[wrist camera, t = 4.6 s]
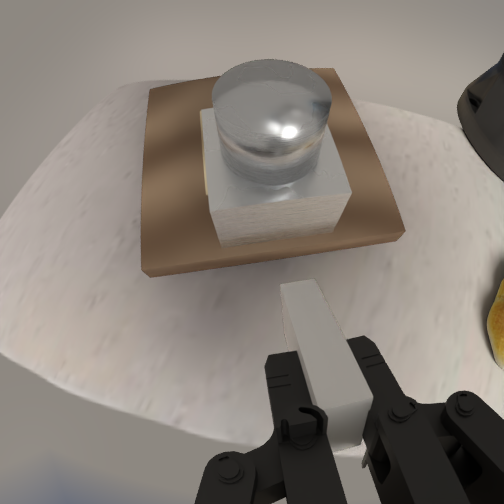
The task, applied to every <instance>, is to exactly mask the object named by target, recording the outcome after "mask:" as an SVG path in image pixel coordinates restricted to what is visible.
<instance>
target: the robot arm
mask: <svg viewBox="0 0 504 504" xmlns="http://www.w3.org/2000/svg"><path fill="white" fill-rule="evenodd" d="M457 111H458V117H459V120H460V123H461V125H462V127H463V129H464V132H465V133H466V135H467V137H468V139H469V140H470V142H471V143H472V145H473V146H474V148H475V149H476V151H477V152H478V153H479V155H480V156H481V157H482V159H483V160H484V161H485V162H486V163H487V164H488V166H489V167H490V168H491V169H492V170H493V171H494V172H495V173H496V174H497V175H498V176H499V177H500V178H501V179H502V180H503V181H504V53H503V55H502V57H501V59H500V61H499V62H498V63H497V64H495V65H494V66H493V67H491V68H490V69H489V70H488V71H486V72H485V73H484V74H482V75H481V76H480V77H478V78H477V79H476V80H474V81H473V82H472V83H470V84H469V85H468V86H467V87H466V89H465V90H464V92H463V94H462V95H461V97H460V99H459V101H458V105H457ZM280 292H281V303H282V314H283V326H284V335H285V339H286V342H287V346H288V350H289V352H285V353H279V354H273V355H269V356H268V358H267V361H266V364H265V373H266V380H267V387H268V393H269V399H270V405H271V411H272V417H273V423H274V431H273V434H272V436H271V437H270V439H269V440H268V441H267V442H266V443H265V444H264V445H262V446H260V447H259V448H257V449H254V450H252V451H250V452H247V453H245V454H243V453H239V452H235V451H232V452H223V453H221V454H218V455H216V456H214V457H213V458H212V459H211V460H210V461H209V462H208V464H207V466H206V467H205V470H204V473H203V477H202V480H201V483H200V487H199V490H198V493H197V497H196V500H195V504H272V503H274V502H276V501H278V500H280V499H283V498H285V497H286V501H287V504H347V501H346V498H345V494H344V491H343V487H342V484H341V480H340V477H339V473H338V470H337V467H336V463H335V460H334V457H333V453H332V452H335V451H339V450H343V449H347V448H351V447H355V446H358V445H361V441H362V438H363V439H364V442H365V444H366V447H367V449H366V452H365V455H364V458H363V460H362V468H365V467H366V465H367V464H368V467H369V470H370V472H371V475H372V478H373V481H374V484H375V487H376V490H377V493H378V495H379V498H380V501H381V504H504V420H503V419H502V418H501V417H500V416H499V415H498V414H497V413H496V412H495V411H494V410H493V409H492V408H491V407H489V406H488V405H487V404H486V403H485V402H484V401H483V400H482V399H481V398H480V397H479V396H477V395H476V394H474V393H472V392H469V391H458V392H456V393H454V394H452V395H451V396H450V397H449V398H448V399H447V401H446V402H445V403H434V404H421V403H417V402H416V400H414V399H412V398H410V397H408V396H405V394H404V393H403V392H402V390H401V388H400V386H399V384H398V383H397V381H396V379H395V377H394V376H393V374H392V372H391V370H390V369H389V367H388V365H387V363H385V360H384V358H383V356H382V355H381V353H380V351H379V349H378V348H377V346H376V344H375V343H374V342H373V341H371V340H370V339H368V338H367V337H366V336H360V337H356V338H351V339H347V340H346V339H345V337H344V335H343V333H342V331H341V329H340V327H339V325H338V323H337V321H336V319H335V317H334V315H333V313H332V311H331V309H330V307H329V305H328V303H327V302H326V300H325V298H324V296H323V294H322V292H321V290H320V288H319V286H318V284H317V282H316V280H315V278H314V279H308V280H302V281H296V282H290V283H283V284H280Z"/></svg>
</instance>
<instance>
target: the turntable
mask: <svg viewBox="0 0 504 504" xmlns="http://www.w3.org/2000/svg"><path fill="white" fill-rule="evenodd" d="M310 70H312V71H314V72H315V73H316V74H318V75H319V76H320V77H321V78H322V79H323V80H324V81H325V82H326V84H327V85H328V87H329V89H330V92H331V96H332V104H331V108H330V112H329V117H328V121H327V125H328V127H329V130H330V132H331V135H332V138H333V140H334V143H335V145H336V148H337V151H338V154H339V156H340V159H341V162H342V165H343V168H344V170H345V173H346V176H347V179H348V182H349V185H350V188H351V191H352V194H351V196H350V198H349V200H348V202H347V204H346V206H345V208H344V210H343V212H342V214H341V216H340V218H339V220H338V222H337V224H336V226H335V228H334V230H333V232H331V233H324V234H317V235H310V236H303V237H296V238H289V239H282V240H275V241H268V242H261V243H254V244H247V245H241V246H234V247H227V248H222V247H221V244H220V241H219V238H218V235H217V232H216V229H215V226H214V223H213V220H212V217H211V214H210V209H209V199H208V188H207V177H206V165H205V153H204V140H203V127H202V112H201V110H202V109H208V108H213V103H212V90H213V87H214V85H215V83H216V82H217V80H218V79H219V78H220V77H221V76H217V77H211V78H205V79H198V80H192V81H187V82H182V83H176V84H172V85H167V86H162V87H158V88H153V89H150V92H149V100H148V109H147V119H146V129H145V141H144V155H143V172H142V197H141V270H142V271H143V272H144V273H146V274H147V275H148V276H149V277H150V278H152V277H159V276H166V275H173V274H180V273H187V272H194V271H201V270H208V269H215V268H222V267H229V266H236V265H243V264H250V263H256V262H263V261H270V260H277V259H283V258H290V257H297V256H303V255H310V254H316V253H323V252H329V251H336V250H342V249H349V248H355V247H362V246H368V245H374V244H381V243H387V242H393V241H397V240H398V239H399V238H400V237H401V236H402V234H403V233H404V232H405V228H404V225H403V222H402V219H401V216H400V213H399V210H398V207H397V205H396V202H395V199H394V196H393V194H392V191H391V188H390V186H389V183H388V181H387V178H386V176H385V173H384V171H383V168H382V166H381V164H380V161H379V159H378V156H377V154H376V152H375V149H374V147H373V145H372V143H371V140H370V138H369V136H368V134H367V132H366V130H365V127H364V125H363V123H362V121H361V119H360V117H359V115H358V113H357V111H356V109H355V107H354V105H353V103H352V101H351V99H350V97H349V95H348V93H347V91H346V90H345V88H344V86H343V84H342V82H341V80H340V78H339V77H338V75H337V73H336V71H335V70H334V69H333V68H315V69H312V68H311V69H310Z"/></svg>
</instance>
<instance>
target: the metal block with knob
mask: <svg viewBox="0 0 504 504" xmlns="http://www.w3.org/2000/svg"><path fill="white" fill-rule="evenodd" d="M212 103H213V108H208V109H202V110H201V112H202V127H203V140H204V153H205V165H206V177H207V188H208V199H209V209H210V214H211V217H212V220H213V223H214V226H215V229H216V232H217V235H218V238H219V241H220V244H221V247H222V248H227V247H234V246H241V245H247V244H254V243H261V242H268V241H275V240H282V239H289V238H296V237H303V236H310V235H317V234H324V233H331V232H333V230H334V228H335V226H336V224H337V222H338V220H339V218H340V216H341V214H342V212H343V210H344V208H345V206H346V204H347V202H348V200H349V198H350V196H351V194H352V191H351V188H350V185H349V182H348V179H347V176H346V173H345V170H344V168H343V165H342V162H341V159H340V156H339V154H338V151H337V148H336V145H335V143H334V140H333V138H332V135H331V132H330V130H329V127H328V125H327V121H328V117H329V112H330V108H331V104H332V96H331V92H330V89H329V87H328V85H327V84H326V82H325V81H324V80H323V79H322V78H321V77H320V76H319V75H318V74H316V73H315V72H314V71H312V70H310V69H308V68H306V67H304V66H302V65H299V64H296V63H293V62H289V61H283V60H274V59H265V60H255V61H250V62H246V63H243V64H240V65H238V66H235V67H233V68H231V69H230V70H228V71H227V72H225V73H224V74H223V75H222V76H221V77H220V78H219V79H218V80H217V82H216V83H215V85H214V87H213V90H212Z"/></svg>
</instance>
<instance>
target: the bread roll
mask: <svg viewBox="0 0 504 504" xmlns="http://www.w3.org/2000/svg"><path fill="white" fill-rule="evenodd" d="M487 331H488V335H489V339H490V343H491V346H492V350H493V354H494V358H495V361H496V363H497V364H498V366H499V367H500V368H501V369H503V370H504V279H503V280H502V282H501V284H500V287H499V290H498V293H497V295H496V298H495V301H494V303H493V305H492V307H491V309H490V311H489V315H488V318H487Z"/></svg>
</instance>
